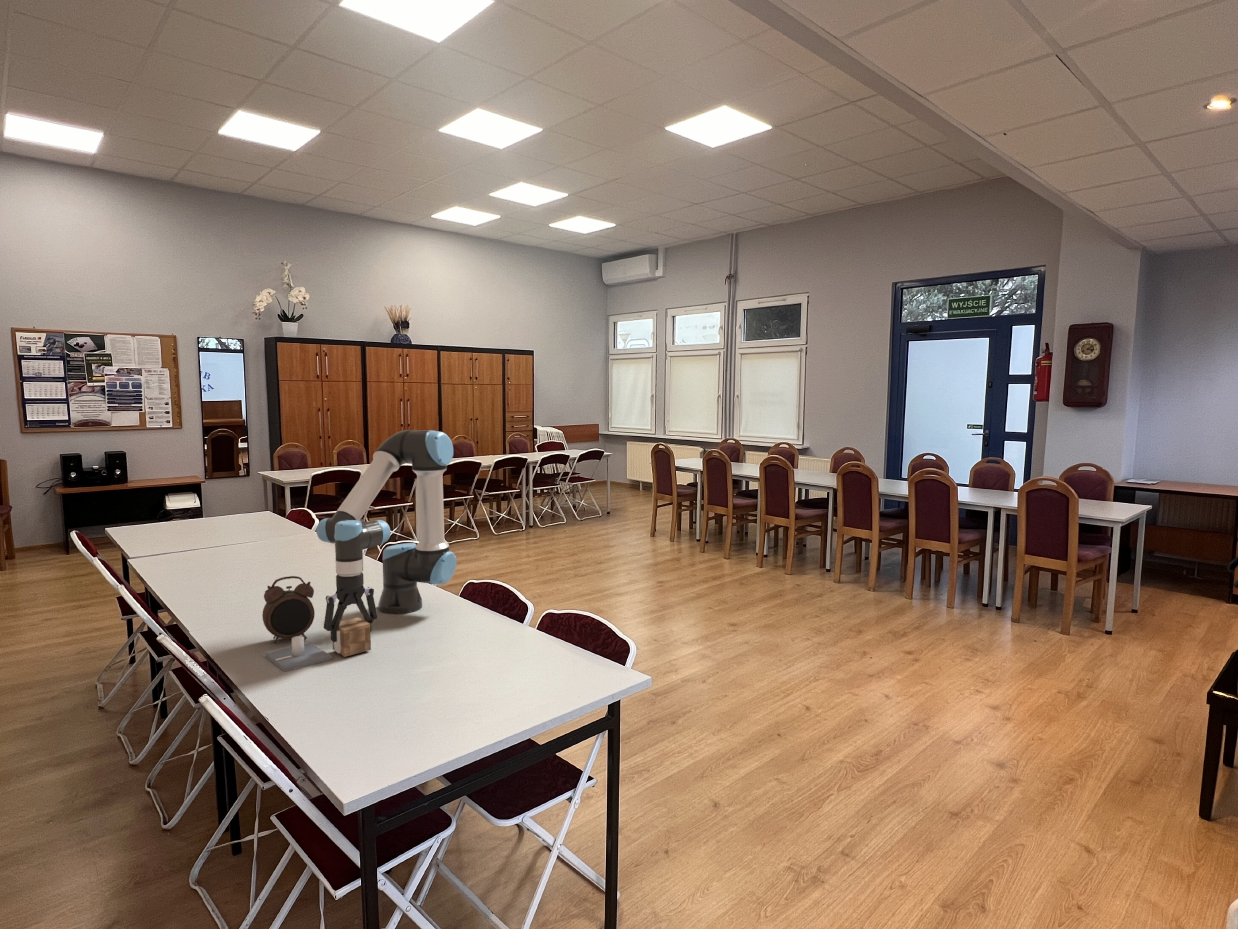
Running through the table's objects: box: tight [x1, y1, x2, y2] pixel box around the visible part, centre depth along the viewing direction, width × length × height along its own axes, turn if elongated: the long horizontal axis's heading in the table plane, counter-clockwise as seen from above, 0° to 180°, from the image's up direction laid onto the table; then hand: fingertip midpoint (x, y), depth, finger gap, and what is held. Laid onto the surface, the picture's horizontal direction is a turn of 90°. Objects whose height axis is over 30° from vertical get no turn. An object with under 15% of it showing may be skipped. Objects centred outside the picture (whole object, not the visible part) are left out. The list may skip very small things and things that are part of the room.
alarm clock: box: [262, 575, 315, 644], centre depth 211 cm, size 14×7×20 cm, turn 126°
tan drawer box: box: [332, 617, 372, 658], centre depth 203 cm, size 8×8×8 cm
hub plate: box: [264, 635, 333, 672], centre depth 197 cm, size 13×15×6 cm
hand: (352, 647), depth 203 cm, fingers closed on tan drawer box, 8 cm apart
